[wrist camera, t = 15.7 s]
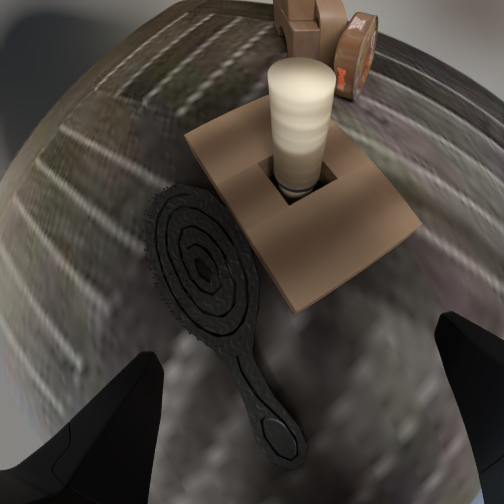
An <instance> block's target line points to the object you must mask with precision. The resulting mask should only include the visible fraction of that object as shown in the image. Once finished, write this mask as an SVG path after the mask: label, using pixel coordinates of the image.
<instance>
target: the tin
mask: <svg viewBox="0 0 504 504" xmlns="http://www.w3.org/2000/svg"><path fill="white" fill-rule="evenodd" d="M377 32H378V17H377V15H370V14H366V13H362V12H357V13H355V15H354V16H353V17H352V19H351V20H350V22H349V23H348V25H347V26H346V28H345V29H344V31H343V33H342V34H341V36H340V38H339V41H338V44H337V47H336V51H335V56H334V73H335V76H336V83H335V90H334V94H336V95H338V96H341V97H344V98H348V99H351V100H353V101H354V102H356V101H357V100H358V98H359V96H360V93H361V91H362V88H363V86H364V83H365V80H366V78H367V75H368V73H369V70H370V67H371V64H372V61H373V57H374V52H375V46H376V39H377Z"/></svg>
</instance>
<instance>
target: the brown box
mask: <svg viewBox="0 0 504 504" xmlns="http://www.w3.org/2000/svg"><path fill="white" fill-rule="evenodd" d="M184 136H185V138H186V140H187V142H188V144H189V147H190V149H191V151H192V153H193V155H194V156H195V158H196V160H197V161H198V163H199V164H200V166H201V168H202V169H203V171H204V172H205V174H206V176H207V177H208V179H209V180H210V182H211V184H212V185H213V187H214V188H215V190H216V191H217V193H218V195H219V196H220V198H221V199H222V201H223V203H224V204H225V206H226V207H227V209H228V211H229V212H230V213H231V214H232V215H233V217H234V218H235V220H236V222H237V223H238V225H239V227H240V228H241V230H242V232H243V233H244V235H245V237H246V239H247V240H248V243H249V244H250V246H251V247H252V249H253V251H254V252H255V254H256V255H257V257H258V259H259V260H260V262H261V263H262V265H263V266H264V268H265V270H266V271H267V273H268V274H269V276H270V278H271V279H272V281H273V282H274V284H275V286H276V287H277V289H278V290H279V292H280V294H281V295H282V297H283V298H284V300H285V302H286V303H287V305H288V307H289V308H290V310H291V311H292V313H293V315H294V316H295V315H296V314H298V313H300V312H301V311H303V310H304V309H306V308H307V307H309V306H311V305H312V304H314V303H315V302H317V301H318V300H320V299H321V298H323V297H325V296H326V295H328V294H329V293H331V292H332V291H334V290H335V289H337V288H338V287H340V286H341V285H343V284H344V283H346V282H347V281H349V280H350V279H351V278H353V277H354V276H356V275H357V274H359V273H360V272H362V271H363V270H364V269H366V268H367V267H369V266H370V265H371V264H373V263H374V262H376V261H377V260H378V259H380V258H381V257H383V256H384V255H385V254H387V253H388V252H389V251H391V250H392V249H393V248H395V247H396V246H397V245H399V244H400V243H401V242H403V241H404V240H405V239H407V238H408V237H409V236H410V235H411V234H412V233H413V232H414V231H416V230H417V229H418V228H419V227H420V226H421V225H422V223H421V222H420V220H419V219H418V217H417V216H416V215H415V213H414V212H413V211H412V209H411V208H410V207H409V205H408V204H407V203H406V202H405V200H404V199H403V198H402V196H401V195H400V194H399V193H398V191H397V190H396V189H395V188H394V186H393V185H392V184H391V183H390V182H389V180H388V179H387V178H386V177H385V176H384V174H383V173H382V172H381V171H380V170H379V169H378V167H377V166H376V165H375V164H374V163H373V162H372V161H371V160H370V158H369V157H368V156H367V155H366V154H365V153H364V152H363V151H362V150H361V149H360V147H359V146H358V145H357V144H356V143H355V142H354V141H353V140H352V139H351V138H350V137H349V136H348V135H347V134H346V133H345V132H344V131H343V130H342V129H341V128H340V127H339V126H338V125H337V124H336V123H335V122H334V121H333V120H332V119H331V118H330V121H329V127H328V133H327V138H326V144H325V149H324V155H323V160H322V165H321V174H320V178H319V181H320V182H321V183H322V184H323V186H324V187H322V188H320V189H318V190H316V191H315V192H313V193H311V194H309V195H308V196H306V197H304V198H302V199H300V200H299V201H297V202H295V203H293V204H292V205H290V206H289V205H288V204H287V202H286V201H285V200H284V198H283V197H282V195H281V194H280V193H279V191H278V190H277V189H276V187H275V186H274V185H273V183H272V182H271V181H270V179H269V177H271V176H272V175H274V157H273V141H272V125H271V111H270V97H269V95H266V96H264V97H262V98H259V99H257V100H255V101H252V102H250V103H248V104H245V105H243V106H241V107H239V108H237V109H234V110H232V111H230V112H228V113H226V114H224V115H222V116H220V117H218V118H216V119H214V120H212V121H210V122H208V123H206V124H204V125H202V126H200V127H198V128H196V129H194V130H192V131H190V132H189V133H187V134H185V135H184Z"/></svg>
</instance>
